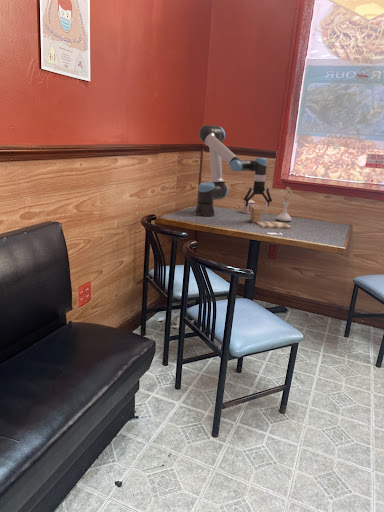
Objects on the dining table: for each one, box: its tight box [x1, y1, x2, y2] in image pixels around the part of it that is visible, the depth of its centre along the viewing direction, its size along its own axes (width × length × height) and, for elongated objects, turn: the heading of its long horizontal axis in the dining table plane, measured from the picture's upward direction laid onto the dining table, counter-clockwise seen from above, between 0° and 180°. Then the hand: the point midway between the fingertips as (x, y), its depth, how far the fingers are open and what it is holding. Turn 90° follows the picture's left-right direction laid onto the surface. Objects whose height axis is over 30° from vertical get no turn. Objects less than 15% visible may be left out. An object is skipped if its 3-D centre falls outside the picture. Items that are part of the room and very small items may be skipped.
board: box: [255, 221, 292, 230], centre depth 274 cm, size 20×14×2 cm
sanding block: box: [249, 206, 263, 224], centre depth 283 cm, size 9×5×10 cm, turn 10°
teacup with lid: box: [242, 198, 259, 215], centre depth 315 cm, size 12×9×12 cm
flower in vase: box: [275, 186, 293, 222], centre depth 293 cm, size 13×11×25 cm
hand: (256, 211), depth 282 cm, fingers open, 13 cm apart
